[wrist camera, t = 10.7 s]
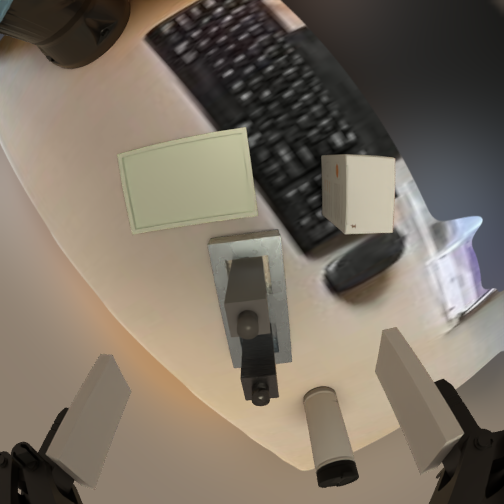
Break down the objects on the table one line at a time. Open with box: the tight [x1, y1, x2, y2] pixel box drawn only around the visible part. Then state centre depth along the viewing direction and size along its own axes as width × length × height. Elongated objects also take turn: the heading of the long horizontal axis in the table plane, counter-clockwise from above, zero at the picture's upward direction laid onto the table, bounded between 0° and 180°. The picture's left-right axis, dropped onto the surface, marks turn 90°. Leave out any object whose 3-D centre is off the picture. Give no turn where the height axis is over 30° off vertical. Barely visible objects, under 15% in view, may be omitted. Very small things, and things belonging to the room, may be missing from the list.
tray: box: [117, 127, 258, 235], centre depth 35 cm, size 11×17×1 cm, turn 98°
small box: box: [321, 154, 395, 234], centre depth 31 cm, size 8×6×10 cm
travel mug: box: [304, 387, 359, 488], centre depth 38 cm, size 6×7×20 cm
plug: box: [224, 256, 271, 339], centre depth 32 cm, size 4×4×14 cm
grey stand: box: [208, 230, 292, 406], centre depth 34 cm, size 20×9×15 cm, turn 8°
